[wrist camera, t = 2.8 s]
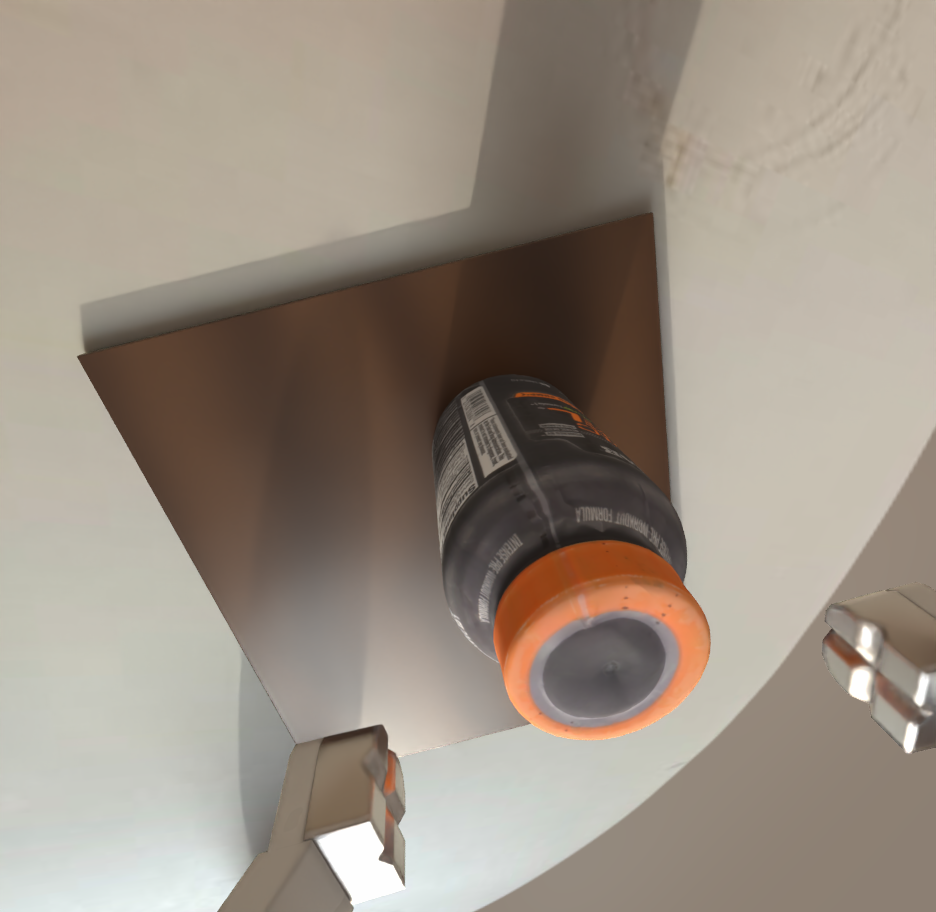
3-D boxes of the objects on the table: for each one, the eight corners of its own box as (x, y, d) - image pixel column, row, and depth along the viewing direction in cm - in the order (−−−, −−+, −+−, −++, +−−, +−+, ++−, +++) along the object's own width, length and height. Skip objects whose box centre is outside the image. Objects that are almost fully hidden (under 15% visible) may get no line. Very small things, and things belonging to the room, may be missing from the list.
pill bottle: (609, 437, 20) (828, 651, 9) (507, 535, 21) (599, 817, 11) (504, 337, 18) (635, 467, 7) (398, 452, 19) (381, 702, 9)
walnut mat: (648, 212, 17) (653, 211, 16) (678, 679, 26) (682, 685, 26) (83, 353, 17) (75, 356, 16) (316, 771, 26) (315, 779, 26)
